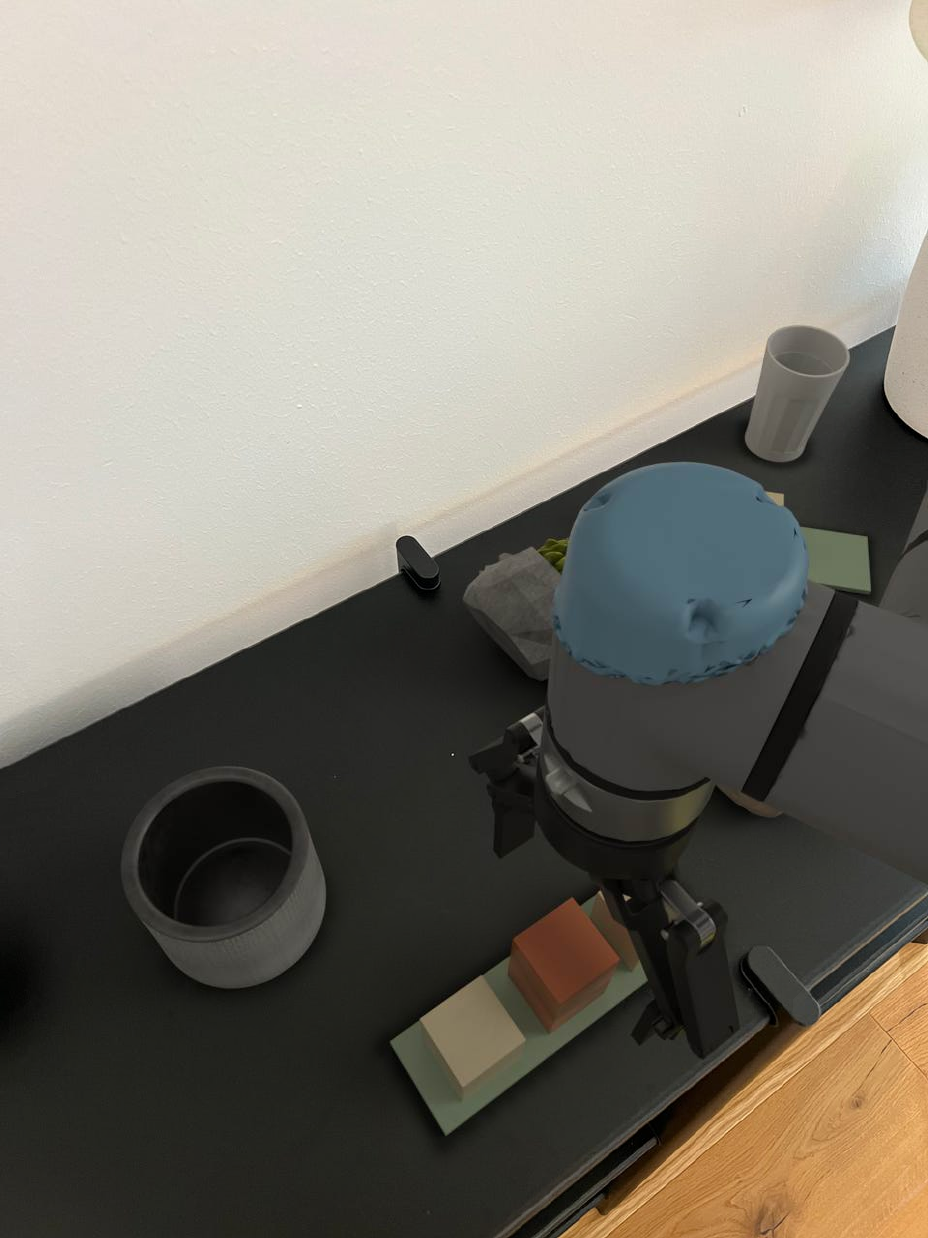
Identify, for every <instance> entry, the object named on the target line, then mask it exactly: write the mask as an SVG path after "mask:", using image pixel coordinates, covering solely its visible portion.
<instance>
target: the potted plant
mask: <svg viewBox="0 0 928 1238" xmlns="http://www.w3.org/2000/svg"><path fill="white" fill-rule="evenodd" d="M569 538H570V537H566V538H565V539H561V540H556V539H553V538H549V539H547V540H546V541H545V544H544V545H543V546H542V547H540V548H539V549H538V550H537V549H535V548H534V547H533V546H530V547H528V548H526V549H524V550H522V551H520V552H518V553H516V554H513V553H512V554H511V553H507V552H503V553H501V554H499V555H498V556H497V557H498V562H495V563H493V564H487V565H485V567H484V570H481V569H480V570H478V571H479V572H478V575H477V577H476V578H475V579H474V580H472V581H471V583H469V584H468V585H467V587H466V590H465V592H464V595H463V597H462V602H463V604H464V605H465V607H466V609H467V610H468V611H469V612H470V614H471V615H472V617H473V618H474V619H475V621H476V622H477V623H478V625H479V626H481V628H482V629H483V630H484V631H485V632H486V634H488V635H489V637H490V638H491V639H492V640H493V641H494V642H495V643H496V644H497V645H498V646H499V647H500V648H501V650H503V651H504V652H505V653H506V655H508V656H509V657H510V658H511V659H512V661H514V662H515V664H517V665H518V667H520V669H521V670H522V671H523V672H524V673H525V674H526V676H528V677H529V678H531V679H534V680H537V681H540V682H542V681H543V682H544V681H545V680H549V669H550V658H551V647H552V635H553V621H552V617H551V608H553V607H554V605H553V599H554V593H555V590H556V588H557V587H558V586H559V584H560V580H561V576H562V571H563V566H564V562H565V557H566V552H567V548H568V543H569Z"/></svg>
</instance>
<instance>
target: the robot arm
mask: <svg viewBox="0 0 928 1238" xmlns="http://www.w3.org/2000/svg"><path fill="white" fill-rule="evenodd" d="M765 492H766V491H765V489H764V487H763V485H762V484H760V482H758V481H756V480H754V479H751V478H750V477H748V476H746V475H743V474H741V473H740V472H737V471H734V470H731V469H728V468H725V467H722V466H717V465H713V464H709V463H701V462H695V461H693V462H692V461H676V462H671V461H669V462H661V463H655V464H650V465H646V466H645V465H644V466H641V467H639V468H636V469H632V470H630V471H628V472H626V473H624V474H621V475H620V476H617V477H616V478H614V479H612V480H611V481H609V482H608V483H606V484H605V485H603V486H602V487H601V488H600V489H598V491H596V493H594V494H593V495H592V496H591V498H590V499H588V501H586V503H584V504H583V506H582V507H581V509H580V510H579V512H578V515H577V517H576V519H575V521H574V523H573V526H572V529H571V532H570V536H569V537H568V538H569V543H568V548H567V552H566V557H565V562H564V566H563V571H562V576H561V580H560V584H559V586H558V587H557V588H556V590H555V593H554V599H553V605H554V607H553V608H551V617H552V621H553V635H552V647H551V658H550V669H549V679H548V681H547V689H546V693H545V702H544V705H542V706H540V707H539V708H537V709H536V710H534V711H533V712H531V713H529V714H528V715H526V716H524V717H523V718H521V719H520V720H518V721H516V722H515V723H513V724H511V725H510V726H508V727H507V728H506V729H505V730H504V734H503V735H502V736H500V737H499V738H497V739H495V740H494V741H492V742H491V743H489V744H487V745H485V746H484V747H482V748H480V749H479V750H477V751H476V752H474V753H472V754H470V755H469V756H468V763H469V765H470V767H471V769H472V770H473V771H474V772H475V773H476V774H479V775H481V774H485V775H486V776H487V778H488V780H489V782H487V783H486V784H485V787H486V790H487V794H488V796H489V797H490V798H491V808H492V811H493V813H494V824H493V842H492V843H493V844H492V851H493V852H494V854H495V855H496V856H497V858H498V860H501V859H503V858H504V857H506V856H507V855H509V854H511V852H513V851H515V850H516V849H517V848H519V847H521V846H523V845H524V844H525V843H527V842H529V841H530V840H531V839H533V838H534V836H535V828H536V823H537V825H538V826H539V828H540V830H541V832H542V834H543V836H544V838H545V839H546V841H547V842H548V843H549V845H550V847H552V848H553V849H554V851H555V852H556V853H557V854H559V856H560V857H562V858H563V859H564V860H565V861H567V862H568V863H569V864H571V866H574V867H575V868H577V869H579V870H581V871H583V872H585V873H588V876H589V878H590V880H591V881H592V882H593V883H594V884H596V885H597V886H598V887H599V891H600V890H601V892H602V895H603V897H604V900H605V902H606V904H607V907H608V909H609V912H610V914H611V917H612V918H613V920H615V921H616V922H617V923H619V924H620V925H622V926H623V927H625V928H626V929H627V931H628V933H629V936H630V938H631V941H632V943H633V946H634V948H635V951H636V953H637V956H638V958H639V960H640V963H641V965H642V968H643V970H644V973H645V975H646V978H647V980H648V981H647V983H648V985H649V987H650V990H651V992H652V995H653V997H654V999H652V1000H651V1001H649V1002H647V1004H646V1006H645V1008H644V1010H643V1012H642V1013H641V1015H640V1017H639V1019H638V1020H637V1022H636V1024H635V1025H634V1028H633V1029H632V1031H631V1033H630V1036H631V1037H632V1038H633V1040H634V1041H635V1043H636V1044H637V1045H638V1047H640V1046H642V1045H643V1044H644V1043H645V1042H647V1040H649V1039H650V1038H652V1036H653V1035H655V1034H656V1035H657V1036H658V1037H659V1038H660V1039H661V1040H663V1041H667V1040H670V1041H675V1040H676V1039H677V1038H678V1037H679V1036H681V1035H683V1033H685V1036H686V1041H687V1043H688V1046H689V1049H690V1050H691V1052H692V1053H693V1054H694V1055H695V1056H696V1057H697V1058H699V1059H700V1060H702V1061H704V1060H706V1059H707V1057H708V1058H709V1056H710V1055H712V1054H713V1053H714V1052H715V1051H717V1050H718V1049H719V1048H720V1047H722V1046H723V1045H724V1044H725V1043H726V1042H727V1041H729V1040H730V1039H732V1037H733V1036H735V1034H737V1033H738V1032H740V1030H741V1024H740V1020H739V1014H738V1008H737V1003H736V999H735V998H736V997H735V993H734V986H733V982H732V981H733V980H732V976H731V969H730V965H729V960H728V955H727V954H728V953H727V949H726V944H725V943H726V942H725V938H724V936H725V932H726V929H727V926H728V923H729V916H728V913H727V911H726V910H725V908H724V907H723V906H722V905H721V903H720V902H719V901H717V900H715V899H714V898H710V899H708V900H707V901H706V902H704V903H703V902H702V901H697V902H696V901H695V900H694V899H693V898H692V897H691V896H690V895H689V893H687V891H686V890H685V889H684V888H683V887H682V886H681V885H680V881H681V872H680V868H679V863H678V862H679V860H680V858H681V857H682V855H683V853H684V852H685V850H686V849H687V847H688V845H689V844H690V841H691V839H692V837H693V835H694V833H695V830H696V828H697V826H698V824H699V821H700V819H701V818H702V815H703V812H704V810H705V809H706V808H705V807H706V806H707V804H708V802H709V801H710V799H711V797H712V794H713V793H714V789H715V787H716V782H718V783H720V784H721V785H724V786H726V787H728V788H731V789H733V790H736V791H738V792H740V791H741V790H742V791H741V793H744V794H745V795H747V796H749V797H751V798H753V799H755V800H757V801H760V802H763V803H765V804H767V805H769V806H771V807H773V808H775V809H777V810H779V811H781V812H783V813H782V814H785V815H787V816H789V817H791V818H792V819H795V820H796V821H799V822H801V823H803V824H805V825H807V826H809V827H811V828H813V829H815V830H817V831H818V832H820V833H823V834H825V835H827V836H829V837H830V838H833V839H835V840H837V841H839V842H841V843H843V844H845V845H847V846H849V847H851V848H853V849H855V850H857V851H859V852H861V853H862V854H865V855H867V856H869V857H871V858H873V859H875V860H877V861H878V862H881V863H883V864H885V865H886V866H888V867H891V868H893V869H894V870H897V871H899V872H901V873H903V874H905V875H906V876H909V877H911V878H913V879H915V880H917V881H918V882H921V883H923V884H924V885H927V889H928V481H927V482H926V491H925V494H924V496H923V499H922V500H921V504H920V507H919V509H918V511H917V514H916V516H915V519H914V522H913V524H912V526H911V529H910V532H909V534H908V538H907V540H906V543H905V545H904V547H903V551H902V553H901V556H900V557H899V559H898V561H897V564H896V565H895V568H894V571H893V573H892V575H891V578H890V579H889V583H888V584H887V586H886V589H885V591H884V594H883V596H882V597H881V598H882V599H881V601H880V603H879V605H878V607H877V606H875V605H872V604H869V603H868V602H867V603H866V602H864V601H861V600H860V599H857V598H856V597H854V596H853V597H852V596H851V595H847V594H845V593H843V592H840V591H839V590H835V589H831V588H829V587H826V586H824V585H821V584H819V583H816V582H814V581H811V580H809V579H807V575H808V569H809V554H808V547H807V543H806V540H805V537H804V534H803V532H802V530H801V528H800V527H801V525H800V523H799V521H798V520H797V518H796V517H795V515H794V514H793V513H792V511H791V510H790V509H789V508H787V507H786V506H781V505H777V504H776V503H775V502H774V501H773V500H772V499H771V498H770V497H769V496H768V495H767V494H766V493H765ZM517 761H518V762H519V763H517V764H514V763H515V762H517ZM534 762H536V765H535V764H534ZM623 895H626V896H628V897H631V898H630V899H628V900H627V901H625V898H624V896H623Z"/></svg>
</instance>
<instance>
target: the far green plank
mask: <svg viewBox="0 0 928 1238" xmlns="http://www.w3.org/2000/svg"><path fill="white" fill-rule="evenodd" d="M765 493H766V494H767V495H768V496H769V497H770V498H771V499H772V500H773V501H774V502H775V503H776V504H777V505H781V506H784V503H785V495H784V493H778V492H772V491H765ZM800 528H801V530H802V532H803V534H804V537H805V540H806V543H807V547H808V554H809V569H808V575H807V579H809V580H811V581H814V582H816V583H819V584H821V585H824V586H826V587H829V588H831V589H833V590H835V591H843V592H847V593H848V592H849V593H855V594H860V595H861V594H862V595H867V596H868V595H870V593H871V592H872V588H871V587H872V586H871V585H872V584H871V570H870V569H871V568H870V557H869V554H870V553H869V541H868V539H869V537H868V536H865V535H860V534H853V533H846V532H839V531H832V530H825V529H821V528H820V529H818V528H812V527H805V526H800Z"/></svg>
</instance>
